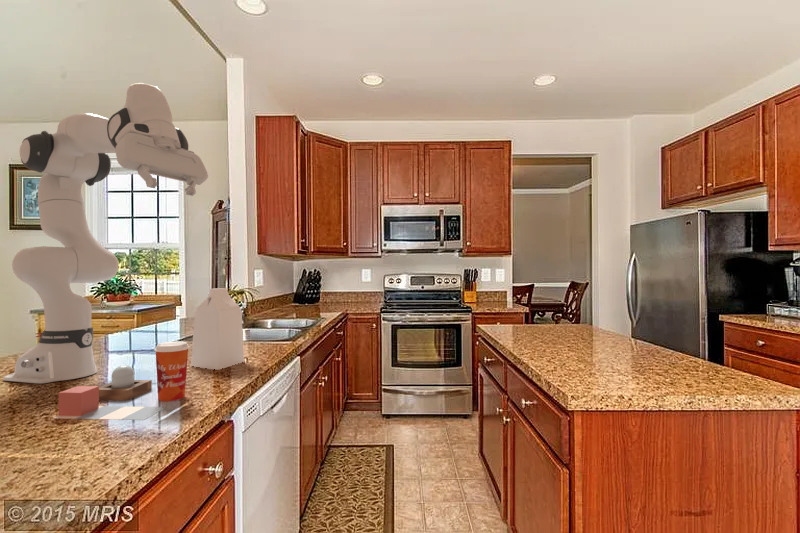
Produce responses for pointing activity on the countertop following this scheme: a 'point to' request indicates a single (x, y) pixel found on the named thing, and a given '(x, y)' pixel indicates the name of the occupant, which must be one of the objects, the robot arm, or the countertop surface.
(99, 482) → the countertop surface
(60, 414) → the red block
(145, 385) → the button box
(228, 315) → the milk
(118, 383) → the dome
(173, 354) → the paper cup
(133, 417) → the track
